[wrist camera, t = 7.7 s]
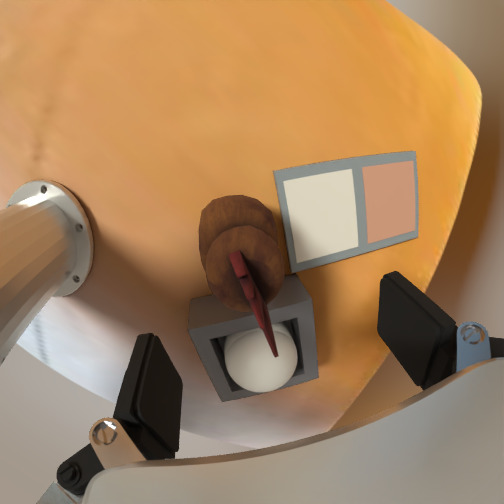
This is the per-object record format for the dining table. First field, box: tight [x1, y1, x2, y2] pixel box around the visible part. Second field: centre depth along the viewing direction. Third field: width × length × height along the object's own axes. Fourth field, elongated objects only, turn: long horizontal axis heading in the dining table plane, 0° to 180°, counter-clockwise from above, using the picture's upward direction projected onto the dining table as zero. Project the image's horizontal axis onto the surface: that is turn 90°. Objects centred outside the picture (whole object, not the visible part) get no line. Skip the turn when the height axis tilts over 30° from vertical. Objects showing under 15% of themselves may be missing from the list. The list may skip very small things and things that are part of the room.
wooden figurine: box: [199, 195, 285, 358], centre depth 18 cm, size 7×6×15 cm
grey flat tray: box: [273, 151, 418, 273], centre depth 25 cm, size 16×10×1 cm, turn 102°
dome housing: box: [188, 274, 319, 402], centre depth 27 cm, size 11×11×5 cm
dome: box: [223, 321, 298, 392], centre depth 25 cm, size 7×7×7 cm
